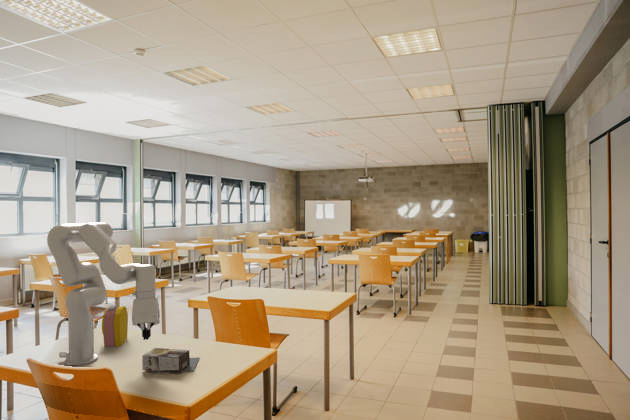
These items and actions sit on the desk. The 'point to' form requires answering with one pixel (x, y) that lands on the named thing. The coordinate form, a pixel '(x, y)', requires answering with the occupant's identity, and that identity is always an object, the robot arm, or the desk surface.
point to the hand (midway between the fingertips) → (146, 338)
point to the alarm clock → (114, 325)
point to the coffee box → (166, 360)
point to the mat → (188, 369)
